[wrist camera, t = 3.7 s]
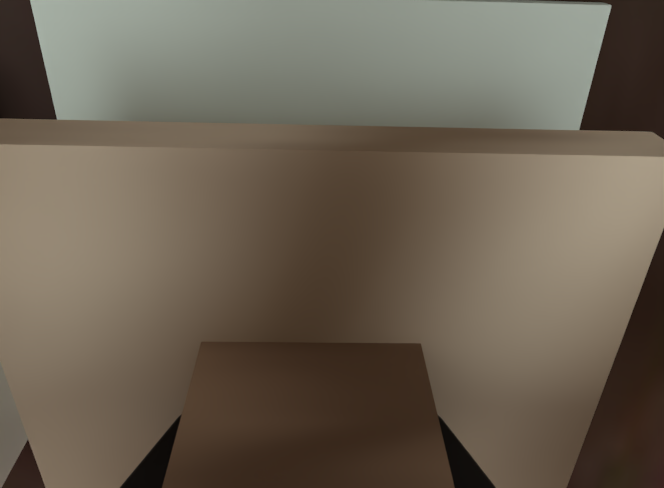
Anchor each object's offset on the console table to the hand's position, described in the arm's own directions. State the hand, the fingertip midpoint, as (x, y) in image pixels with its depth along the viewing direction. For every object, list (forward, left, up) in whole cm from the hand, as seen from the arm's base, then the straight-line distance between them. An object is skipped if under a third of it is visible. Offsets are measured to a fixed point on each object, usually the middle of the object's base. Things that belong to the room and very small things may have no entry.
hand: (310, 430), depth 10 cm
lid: (0, 0, -1) cm, 1 cm away
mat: (0, 0, -6) cm, 6 cm away
